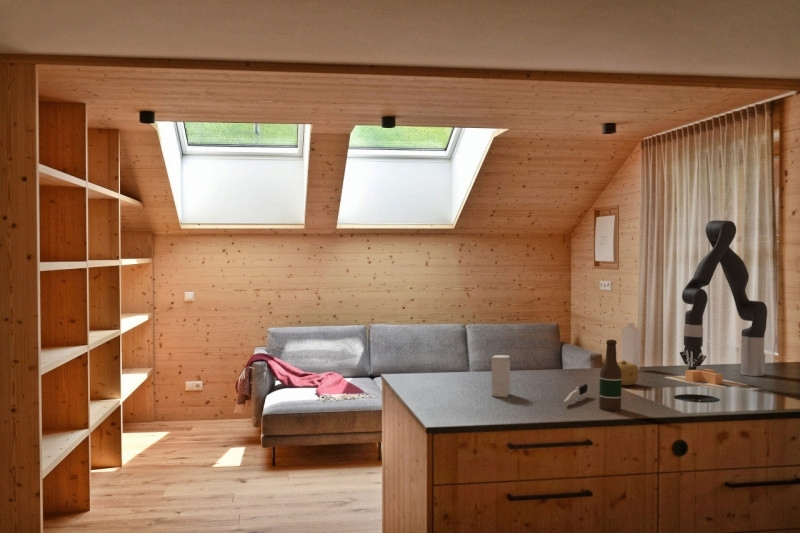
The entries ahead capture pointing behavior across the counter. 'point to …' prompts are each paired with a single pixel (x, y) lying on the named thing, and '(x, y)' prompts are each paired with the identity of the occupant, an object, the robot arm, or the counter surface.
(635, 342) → the milk
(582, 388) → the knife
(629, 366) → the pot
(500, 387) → the skincare box
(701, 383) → the push board
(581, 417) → the counter surface
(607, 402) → the beer bottle
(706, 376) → the t block
